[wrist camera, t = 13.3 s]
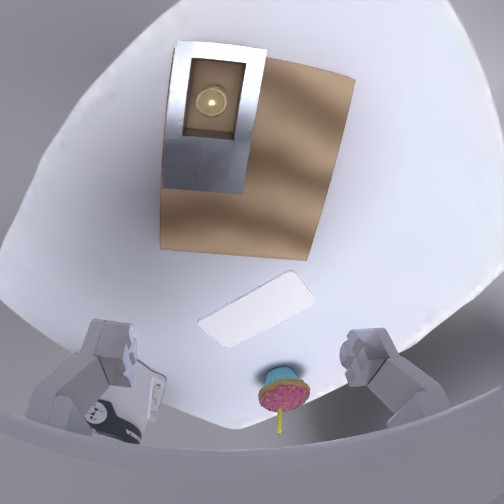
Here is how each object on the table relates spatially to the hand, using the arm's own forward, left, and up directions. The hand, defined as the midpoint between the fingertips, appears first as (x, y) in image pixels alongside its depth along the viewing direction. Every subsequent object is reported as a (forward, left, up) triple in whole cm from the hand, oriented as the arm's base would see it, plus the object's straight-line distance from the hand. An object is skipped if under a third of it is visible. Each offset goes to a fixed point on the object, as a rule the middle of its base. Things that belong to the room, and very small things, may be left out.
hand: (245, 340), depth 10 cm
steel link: (+5, +2, -19) cm, 20 cm away
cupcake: (-34, -13, -21) cm, 42 cm away
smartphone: (-19, -6, -21) cm, 29 cm away
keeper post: (+7, +2, -19) cm, 20 cm away
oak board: (+1, -2, -21) cm, 21 cm away
